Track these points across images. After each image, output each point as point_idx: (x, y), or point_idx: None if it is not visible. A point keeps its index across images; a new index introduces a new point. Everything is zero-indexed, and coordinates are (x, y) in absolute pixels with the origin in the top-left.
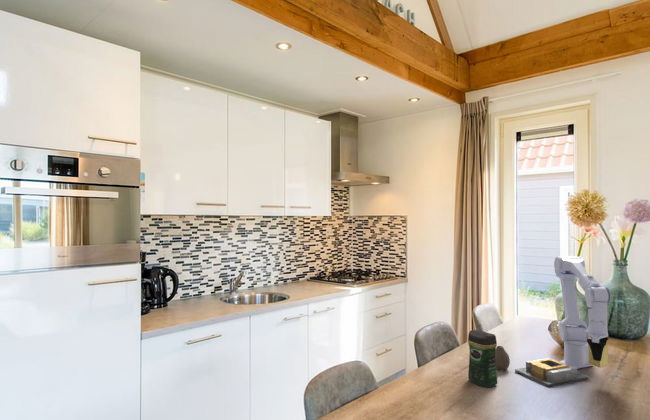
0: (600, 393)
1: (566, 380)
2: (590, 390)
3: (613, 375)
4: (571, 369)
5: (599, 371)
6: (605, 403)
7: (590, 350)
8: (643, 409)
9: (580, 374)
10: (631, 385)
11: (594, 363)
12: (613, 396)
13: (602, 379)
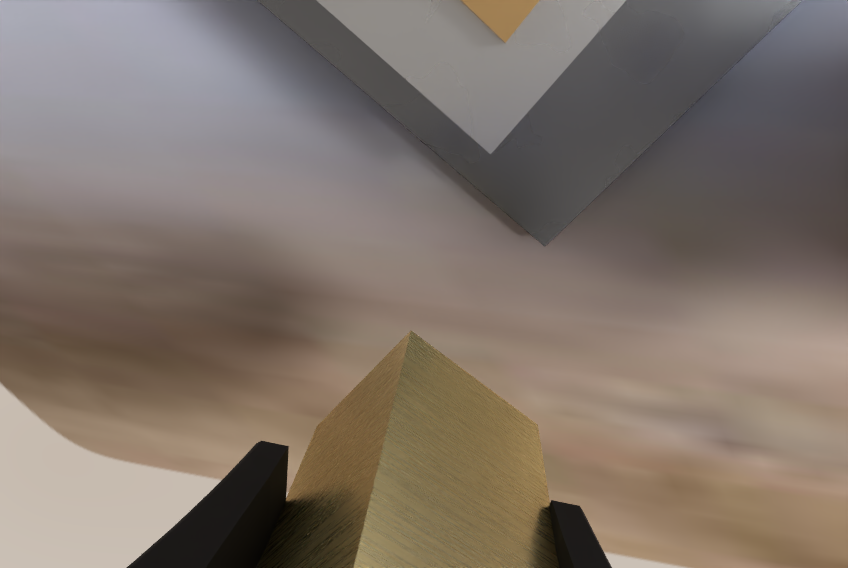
0: (237, 289)
1: (284, 12)
2: (251, 226)
3: (738, 429)
4: (409, 80)
5: (827, 349)
6: (64, 296)
7: (337, 535)
8: (147, 462)
9: (578, 176)
10: None
11: (350, 404)
12: (239, 359)
13: (592, 343)
